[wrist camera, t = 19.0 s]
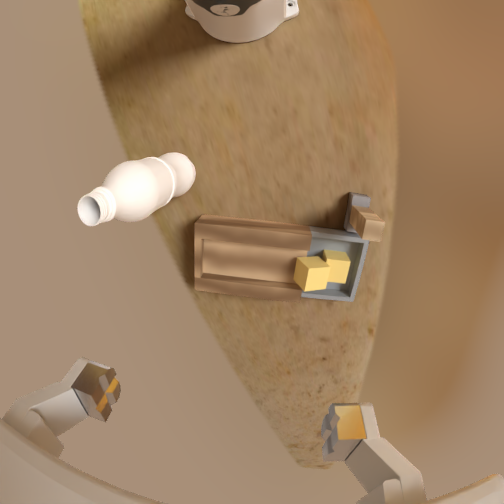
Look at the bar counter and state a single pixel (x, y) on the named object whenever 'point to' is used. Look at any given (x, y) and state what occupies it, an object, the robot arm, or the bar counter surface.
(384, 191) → the bar counter surface
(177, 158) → the water bottle
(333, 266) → the pale yellow cube
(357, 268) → the tray
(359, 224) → the wooden post on base
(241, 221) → the brown wooden tray
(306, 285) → the pale yellow block
